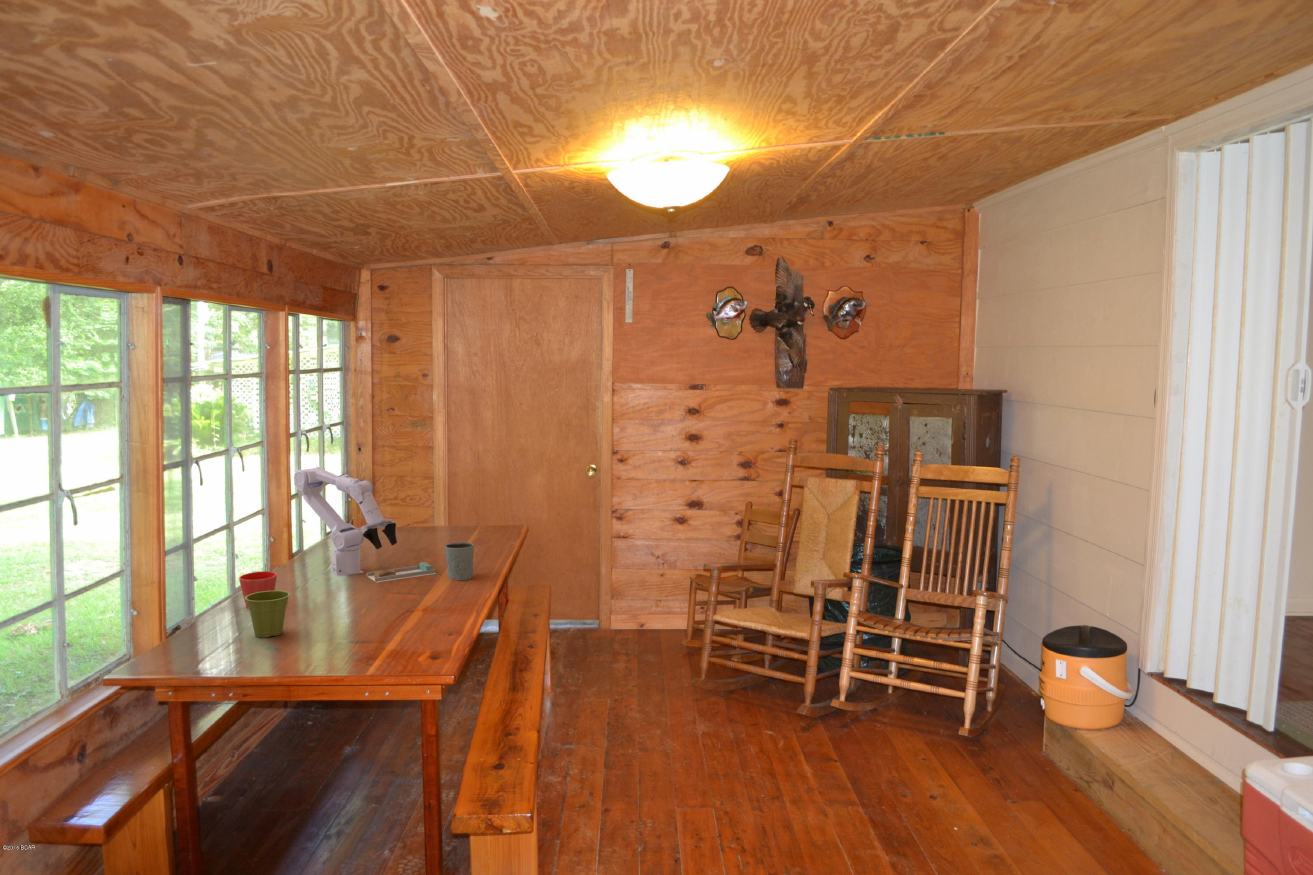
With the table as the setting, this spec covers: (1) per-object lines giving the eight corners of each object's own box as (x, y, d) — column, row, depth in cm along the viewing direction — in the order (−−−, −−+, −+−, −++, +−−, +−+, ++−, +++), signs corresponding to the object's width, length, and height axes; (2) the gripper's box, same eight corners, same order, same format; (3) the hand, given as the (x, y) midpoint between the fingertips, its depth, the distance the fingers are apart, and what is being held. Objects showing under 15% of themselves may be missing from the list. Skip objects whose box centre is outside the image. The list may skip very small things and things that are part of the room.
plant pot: (289, 638, 246) (287, 599, 245) (243, 642, 243) (241, 602, 242) (293, 626, 258) (292, 588, 257) (249, 629, 254) (248, 591, 253)
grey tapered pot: (467, 582, 308) (466, 548, 307) (440, 580, 310) (439, 547, 309) (478, 575, 318) (478, 542, 317) (452, 573, 320) (452, 541, 319)
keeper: (378, 579, 310) (378, 573, 310) (374, 576, 314) (374, 570, 314) (395, 576, 313) (395, 571, 313) (390, 574, 318) (390, 568, 317)
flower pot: (260, 611, 273) (258, 580, 272) (232, 607, 276) (231, 577, 275) (285, 602, 282) (284, 572, 282) (258, 599, 286) (257, 569, 285)
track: (376, 583, 306) (376, 575, 306) (365, 576, 316) (365, 568, 315) (436, 574, 319) (436, 566, 319) (424, 568, 329) (424, 560, 328)
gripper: (364, 510, 306) (380, 545, 304) (392, 504, 319) (408, 537, 317) (351, 519, 309) (366, 553, 307) (380, 512, 322) (395, 545, 320)
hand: (387, 546), depth 313 cm, fingers open, 7 cm apart
